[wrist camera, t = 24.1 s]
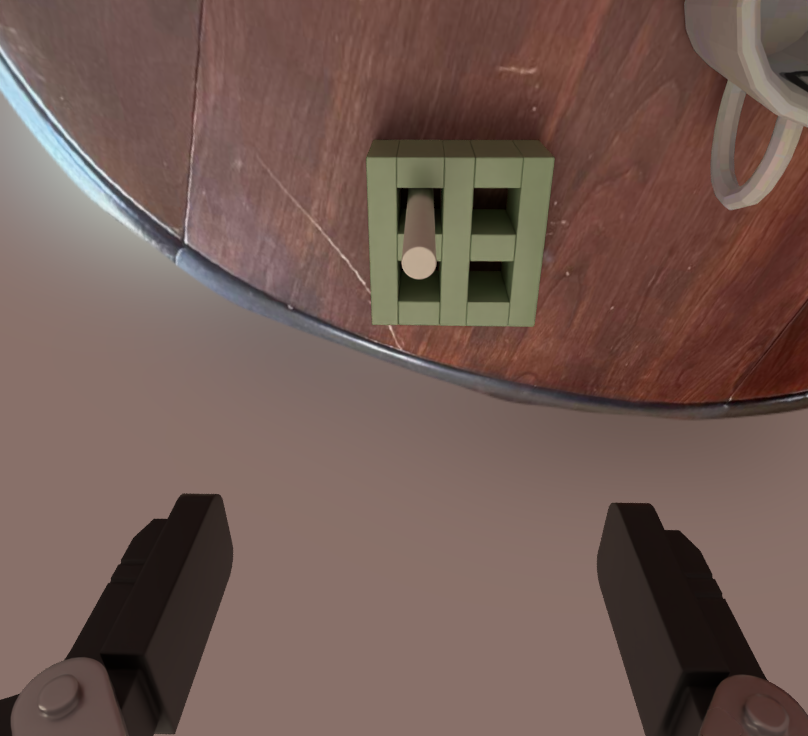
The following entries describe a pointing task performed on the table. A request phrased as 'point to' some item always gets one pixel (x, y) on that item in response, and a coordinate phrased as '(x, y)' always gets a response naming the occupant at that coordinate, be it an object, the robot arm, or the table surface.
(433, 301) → the pen stand
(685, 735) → the robot arm
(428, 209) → the stylus
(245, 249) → the table surface
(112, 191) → the table surface
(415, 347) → the table surface
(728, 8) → the mug
